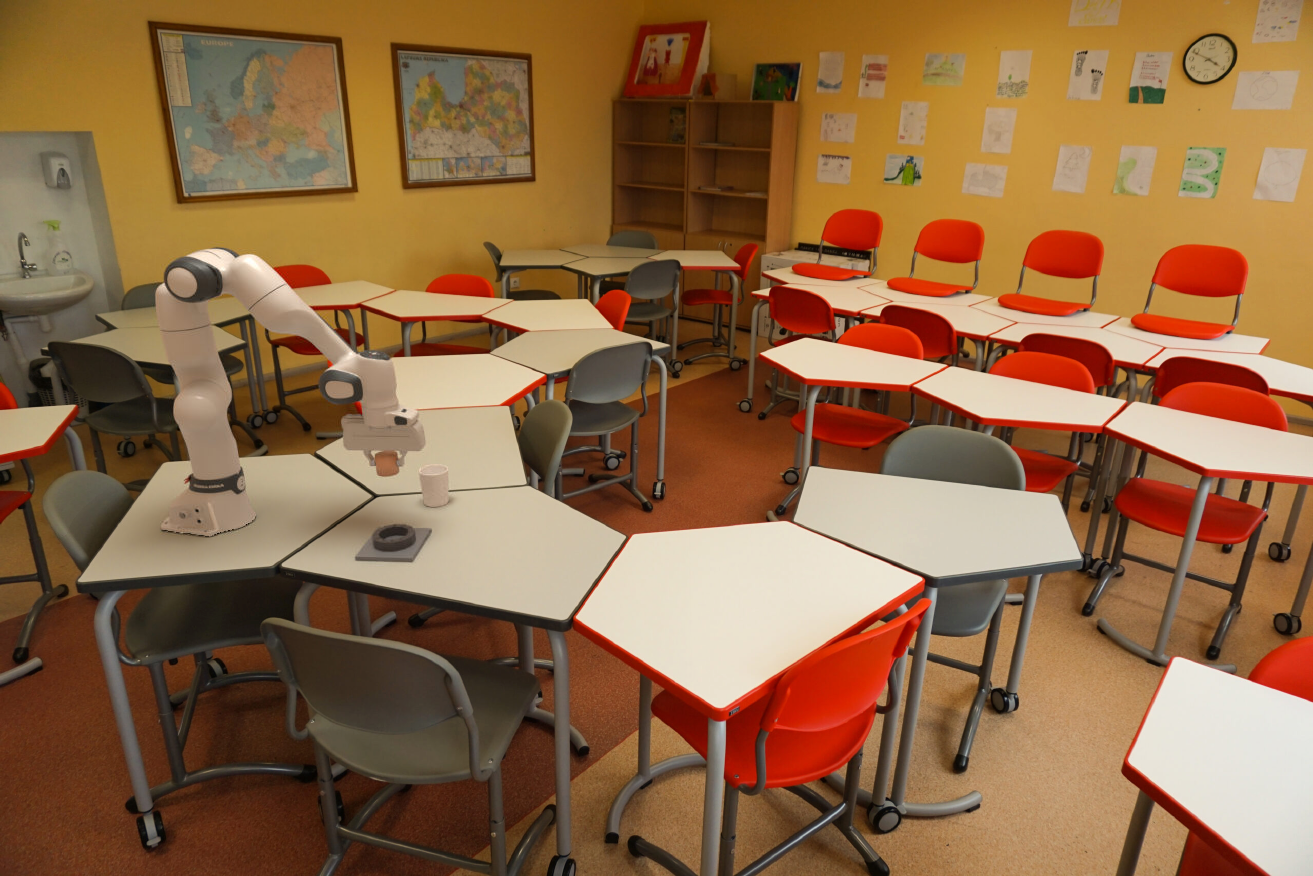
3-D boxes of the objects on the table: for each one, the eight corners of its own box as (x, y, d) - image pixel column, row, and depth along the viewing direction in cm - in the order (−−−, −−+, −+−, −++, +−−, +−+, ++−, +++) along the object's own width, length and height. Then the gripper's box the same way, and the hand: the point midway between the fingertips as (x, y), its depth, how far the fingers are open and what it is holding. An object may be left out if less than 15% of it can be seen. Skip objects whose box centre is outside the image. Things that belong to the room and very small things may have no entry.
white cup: (434, 510, 224) (430, 477, 220) (416, 503, 228) (412, 470, 224) (456, 501, 229) (453, 468, 226) (438, 494, 234) (435, 462, 230)
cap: (373, 476, 207) (371, 458, 205) (380, 468, 212) (378, 450, 210) (395, 476, 207) (393, 458, 205) (402, 468, 212) (400, 450, 210)
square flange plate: (355, 560, 197) (353, 547, 196) (378, 530, 212) (377, 518, 211) (412, 561, 197) (411, 549, 196) (431, 531, 212) (430, 519, 210)
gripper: (335, 418, 201) (342, 469, 206) (417, 419, 201) (422, 470, 205) (345, 410, 207) (351, 460, 212) (424, 411, 206) (429, 461, 211)
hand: (387, 465), depth 208 cm, fingers closed on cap, 6 cm apart
